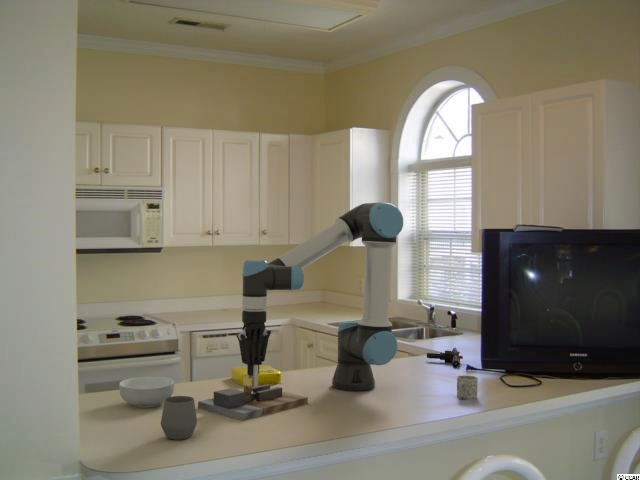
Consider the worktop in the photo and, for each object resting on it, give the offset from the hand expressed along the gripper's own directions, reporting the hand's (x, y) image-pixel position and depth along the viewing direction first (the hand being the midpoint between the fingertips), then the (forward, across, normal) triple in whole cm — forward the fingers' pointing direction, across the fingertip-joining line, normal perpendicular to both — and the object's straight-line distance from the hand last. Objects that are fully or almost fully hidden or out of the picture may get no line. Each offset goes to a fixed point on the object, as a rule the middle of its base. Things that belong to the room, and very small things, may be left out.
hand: (253, 385), depth 221 cm
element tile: (+7, -27, -26) cm, 38 cm away
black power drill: (+7, -108, +4) cm, 109 cm away
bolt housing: (+4, +2, 0) cm, 5 cm away
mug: (+7, -58, +42) cm, 72 cm away
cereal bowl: (+7, +22, -25) cm, 34 cm away
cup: (+7, +36, +10) cm, 38 cm away
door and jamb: (+6, 0, 0) cm, 6 cm away
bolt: (+4, +5, 0) cm, 7 cm away
